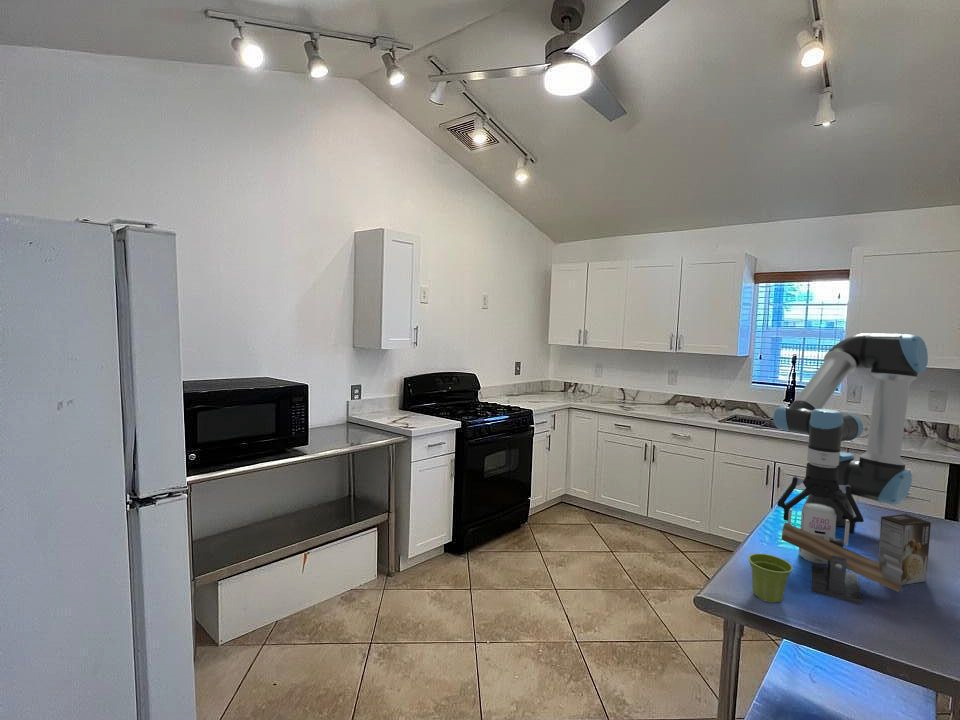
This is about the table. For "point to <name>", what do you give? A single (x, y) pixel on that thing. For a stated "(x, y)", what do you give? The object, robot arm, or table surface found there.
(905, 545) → the coffee box
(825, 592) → the stand
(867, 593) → the table surface
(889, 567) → the balance beam
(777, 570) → the plant pot
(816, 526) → the supplement can
